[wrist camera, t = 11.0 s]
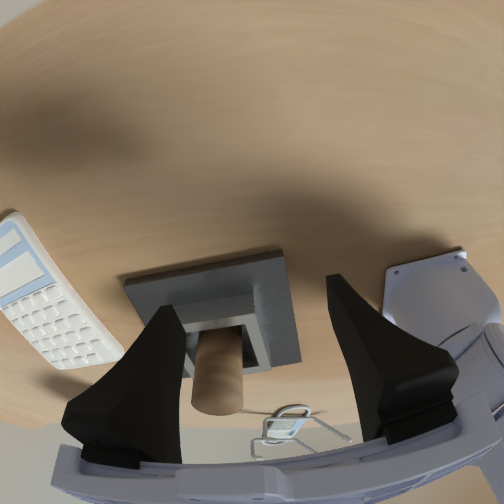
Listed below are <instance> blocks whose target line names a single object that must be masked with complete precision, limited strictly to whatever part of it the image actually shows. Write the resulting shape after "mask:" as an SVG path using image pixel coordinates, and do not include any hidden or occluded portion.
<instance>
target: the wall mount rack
mask: <svg viewBox="0 0 504 504" xmlns="http://www.w3.org/2000/svg"><path fill="white" fill-rule="evenodd" d="M292 409H306V410H307V413H306V414H305V416H304V417H280V416H281V415H282V414H283V413H284V412H286V411H289V410H292ZM310 413H311V409H310V407H308V406H305V405H294V406H289V407H286V408H284V409H282V410H281V411H280V412H279V413H278V414H277V415H276V416H274V417H267V418H265V419H264V420H263V434H262V438H261V439H260V438H256V439H253V440H252V441H251V456H252V458H254V459H255V460H263V459H264V458H263V457H262V456H256V455H255V454H254V442H255V441H261V443H262V444H264V445H280V444H284V443H286V442H287V441H295V442H297V443H298V444H300V445H301V446H303V447H305V448H306V449H308V450H309V451H311V452H312V453H318V452H316V451H315V450H313V449H311V448H310V447H308V446H307V445H305V444H304V443H302V442H301V441H299V440H298V439H295V438H292V437H293V436H294V435H295V434H296V432H297V431H298V430H299V429H300V427H301V426H302V425H303V423H304V422H305V421H306V420H314V421H315V422H317V423H319V424H320V425H322V426H324V427H325V428H327V429H328V430H330V431H332V432H333V433H335V434H337V435H338V436H340V437H342V439H344V440H345V441H347V442H352V438H350V437H349V436H347V435H344V434H342V433H340V432H339V431H337V430H335V429H334V428H332V427H330V426H329V425H327V424H325V423H324V422H322V421H320V420H319V419H317V418H315V417H309V415H310ZM267 421H271V422H270V424H269V425H268V427H267ZM265 441H267V442H265ZM278 441H281V442H278ZM268 442H271V443H268Z"/></svg>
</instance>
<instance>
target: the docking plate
mask: <svg viewBox="0 0 504 504" xmlns="http://www.w3.org/2000/svg"><path fill="white" fill-rule="evenodd" d="M123 288H124V290H125V292H126V293H127V295H128V297H129V299H130V301H131V302H132V304H133V306H134V308H135V309H136V311H137V313H138V314H139V316H140V318H141V319H142V321H143V323H144V324H145V326H146V325H147V324H148V323H149V321H150V320H151V318H152V317H153V315H154V314H155V313H156V311H157V310H158V308H159V307H160V306H164V305H171V304H172V306H173V308H174V310H175V312H176V314H177V316H178V318H179V320H180V322H181V324H182V326H183V327H184V329H185V331H186V333H187V334H186V356H185V363H184V369H183V375H182V378H189V377H191V378H192V380H193V379H194V370H195V361H196V353H197V344H198V336H199V331H202V330H209V329H216V328H223V327H229V326H236V325H240V326H241V328H242V369H243V374H250V373H257V372H263V371H270V370H272V368H271V367H276V366H282V365H288V364H294V363H299V362H302V360H301V353H300V347H299V341H298V335H297V329H296V323H295V317H294V311H293V306H292V300H291V294H290V288H289V283H288V277H287V272H286V266H285V261H284V256H283V251H282V250H277V251H272V252H267V253H262V254H257V255H252V256H247V257H241V258H236V259H231V260H226V261H221V262H216V263H211V264H206V265H200V266H195V267H190V268H185V269H180V270H175V271H169V272H164V273H159V274H154V275H149V276H143V277H138V278H133V279H128V280H126V281H125V283H124V285H123Z"/></svg>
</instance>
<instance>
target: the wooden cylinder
mask: <svg viewBox="0 0 504 504" xmlns="http://www.w3.org/2000/svg"><path fill="white" fill-rule="evenodd" d="M191 404H192V406H193V407H194V408H195V409H196V410H198V411H200V412H202V413H205V414H209V415H216V416H224V415H231V414H234V413H237V412H238V411H240V410H241V409H242V407H243V369H242V328H241V326H240V325H236V326H229V327H223V328H216V329H209V330H202V331H199V336H198V344H197V353H196V361H195V370H194V379H193V389H192V399H191Z"/></svg>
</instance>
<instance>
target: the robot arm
mask: <svg viewBox="0 0 504 504" xmlns="http://www.w3.org/2000/svg"><path fill="white" fill-rule="evenodd" d="M466 255H467V252H466V251H465V250H464V249H463V250H459V251H455V252H451V253H447V254H443V255H439V256H436V257H432V258H428V259H424V260H419V261H415V262H411V263H407V264H403V265H399V266H395V267H391V268H388V269H387V271H386V275H385V288H384V299H383V309H382V315H381V314H380V313H379V312H378V311H376V310H375V309H374V308H373V307H372V306H371V305H369V304H368V303H367V302H366V301H365V300H364V299H363V298H362V297H361V296H360V295H359V294H358V293H357V292H356V291H355V290H354V289H353V288H352V287H351V286H350V285H349V284H348V282H347V281H346V280H345V279H344V278H343V277H342V275H340V274H334V275H329V276H326V285H327V299H328V310H329V314H330V318H331V322H332V326H333V329H334V332H335V334H336V337H337V340H338V342H339V345H340V348H341V350H342V353H343V356H344V358H345V361H346V364H347V367H348V370H349V373H350V377H351V381H352V385H353V390H354V394H355V399H356V403H357V408H358V413H359V418H360V424H361V429H362V436H363V442H364V443H360V444H356V445H352V446H348V447H344V448H339V449H335V450H330V451H325V452H320V453H314V454H309V455H303V456H297V457H290V458H282V459H275V460H266V461H256V462H243V463H227V464H226V463H225V464H182V457H181V448H180V433H179V397H180V388H181V382H182V375H183V369H184V363H185V356H186V334H187V333H186V331H185V329H184V327H183V326H182V324H181V322H180V320H179V318H178V316H177V314H176V312H175V310H174V308H173V306H172V304H171V305H164V306H160V307H159V308H158V310H157V311H156V313H155V314H154V315H153V317H152V318H151V320H150V321H149V323H148V324H147V325H146V327H145V328H144V330H143V331H142V332H141V334H140V335H139V337H138V338H137V339H136V341H135V342H134V343H133V344H132V346H131V347H130V348H129V349H128V351H127V352H126V353H125V354H124V356H123V357H122V358H121V359H120V360H119V361H118V362H117V363H116V364H115V365H114V366H113V368H112V369H110V370H109V371H108V372H107V373H106V374H105V375H104V376H103V377H102V378H101V379H100V380H98V381H97V382H96V383H95V384H94V385H92V386H91V387H90V388H88V389H87V390H86V391H84V392H83V393H81V394H80V395H78V396H77V397H75V398H74V399H72V400H71V401H69V402H68V403H67V406H66V409H65V412H64V415H63V418H62V421H61V425H62V427H63V428H64V430H65V431H66V432H68V433H69V434H70V435H72V436H73V437H74V438H76V439H77V440H78V441H80V442H81V443H82V444H84V445H83V449H80V448H78V447H74V446H69V445H65V444H61V445H60V448H59V451H58V456H57V459H56V463H55V467H54V471H53V476H52V480H51V485H52V486H53V487H55V488H57V489H59V490H61V491H63V492H65V493H67V494H70V495H72V496H74V497H76V498H78V499H81V500H83V501H87V502H90V503H94V504H374V503H377V502H380V501H383V500H386V499H389V498H392V497H395V496H398V495H400V494H403V493H406V492H408V491H411V490H414V489H416V488H418V487H421V486H423V485H426V484H428V483H430V482H432V481H435V480H437V479H439V478H441V477H443V476H445V475H448V474H450V473H452V472H454V471H456V470H458V469H460V468H462V467H464V466H466V465H469V466H478V467H480V468H481V470H482V472H483V474H484V476H485V478H486V479H487V481H488V483H489V485H490V487H491V489H492V491H493V493H494V495H495V497H496V499H497V501H498V503H499V504H504V406H503V407H502V408H500V409H499V410H498V411H497V412H496V413H494V414H493V415H492V413H493V412H494V411H495V410H496V409H498V408H499V407H500V406H501V405H502V404H504V326H503V325H502V324H501V323H502V314H501V308H500V305H499V302H498V300H497V297H496V296H495V294H494V293H493V291H492V290H491V289H490V287H489V286H488V285H487V284H486V283H485V281H484V280H483V279H482V278H481V277H480V275H479V274H478V273H477V272H476V271H475V270H474V268H473V267H472V266H471V265H470V264H469V263H468V262H467V260H466ZM395 271H397V272H395ZM394 272H395V273H394ZM396 325H397V326H396Z"/></svg>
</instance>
